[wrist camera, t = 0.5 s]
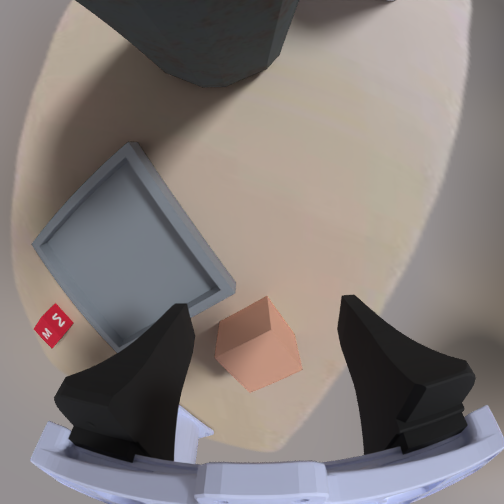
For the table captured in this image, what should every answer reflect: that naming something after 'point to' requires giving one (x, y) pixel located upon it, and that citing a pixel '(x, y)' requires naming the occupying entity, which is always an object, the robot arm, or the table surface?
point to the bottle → (202, 34)
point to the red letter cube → (53, 325)
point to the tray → (130, 251)
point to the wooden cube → (257, 346)
